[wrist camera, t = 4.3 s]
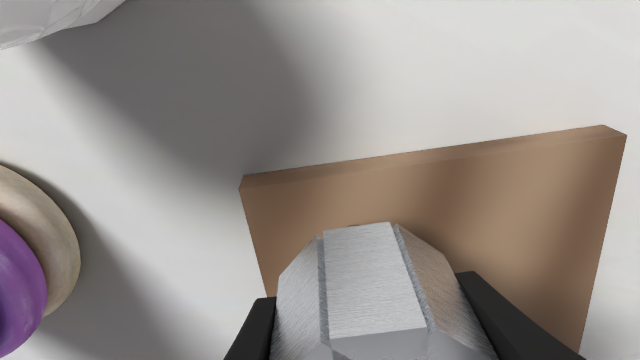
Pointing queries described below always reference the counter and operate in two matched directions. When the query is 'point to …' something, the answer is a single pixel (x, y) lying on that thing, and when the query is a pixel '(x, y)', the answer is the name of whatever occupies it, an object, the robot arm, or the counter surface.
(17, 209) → the stacking toy
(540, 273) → the board
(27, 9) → the white cup
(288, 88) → the counter surface
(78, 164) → the counter surface
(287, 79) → the counter surface
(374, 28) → the counter surface
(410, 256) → the gear ring
